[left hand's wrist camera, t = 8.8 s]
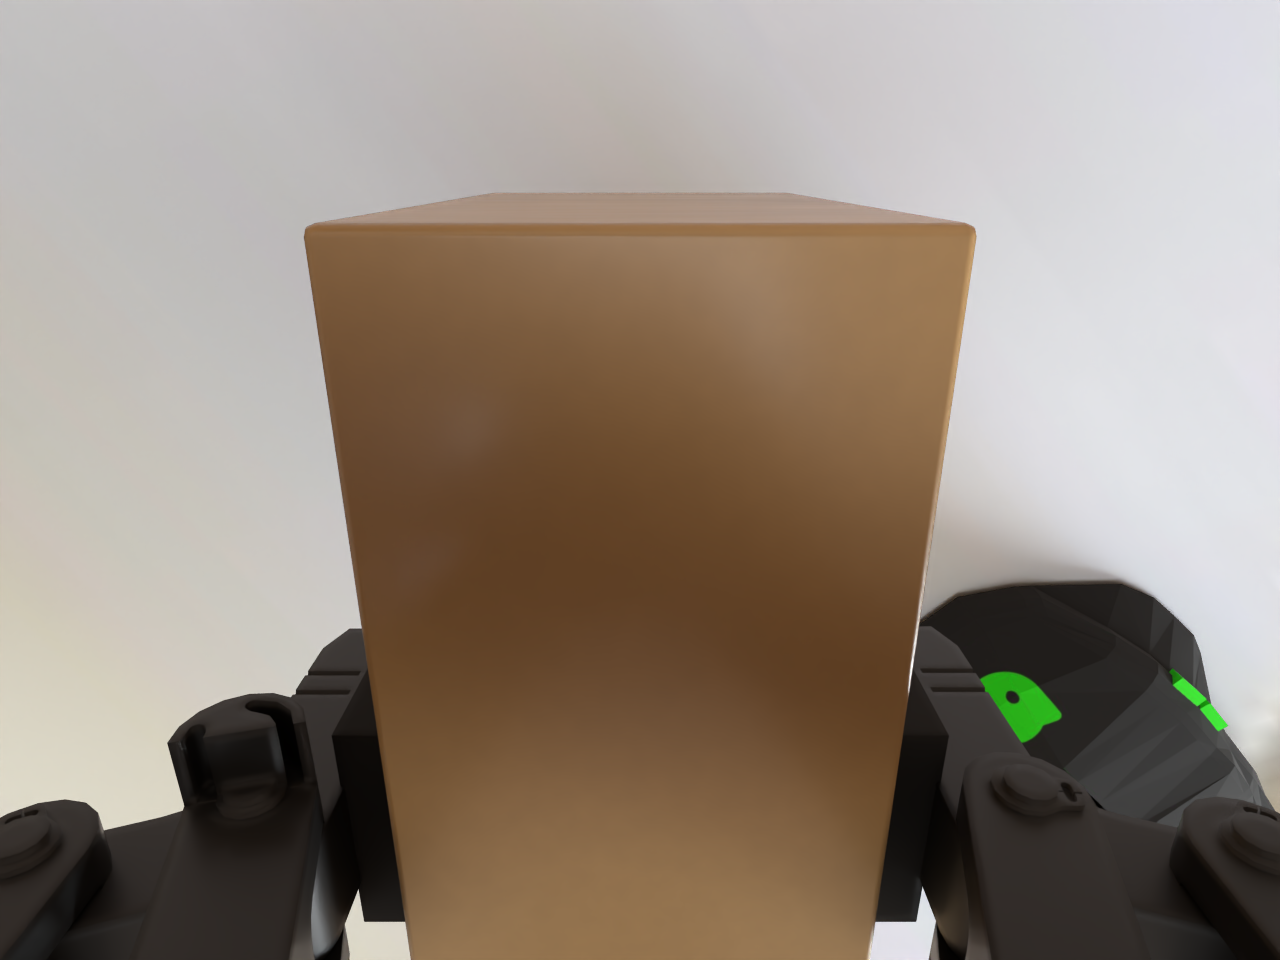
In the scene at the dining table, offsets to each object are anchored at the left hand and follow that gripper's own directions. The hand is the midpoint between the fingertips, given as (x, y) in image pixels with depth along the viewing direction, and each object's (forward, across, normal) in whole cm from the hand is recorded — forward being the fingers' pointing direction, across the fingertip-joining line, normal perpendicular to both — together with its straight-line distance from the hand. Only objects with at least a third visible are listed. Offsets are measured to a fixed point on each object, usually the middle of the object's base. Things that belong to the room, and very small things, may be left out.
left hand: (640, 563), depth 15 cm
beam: (+1, 0, -20) cm, 20 cm away
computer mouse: (+12, +17, -14) cm, 25 cm away
